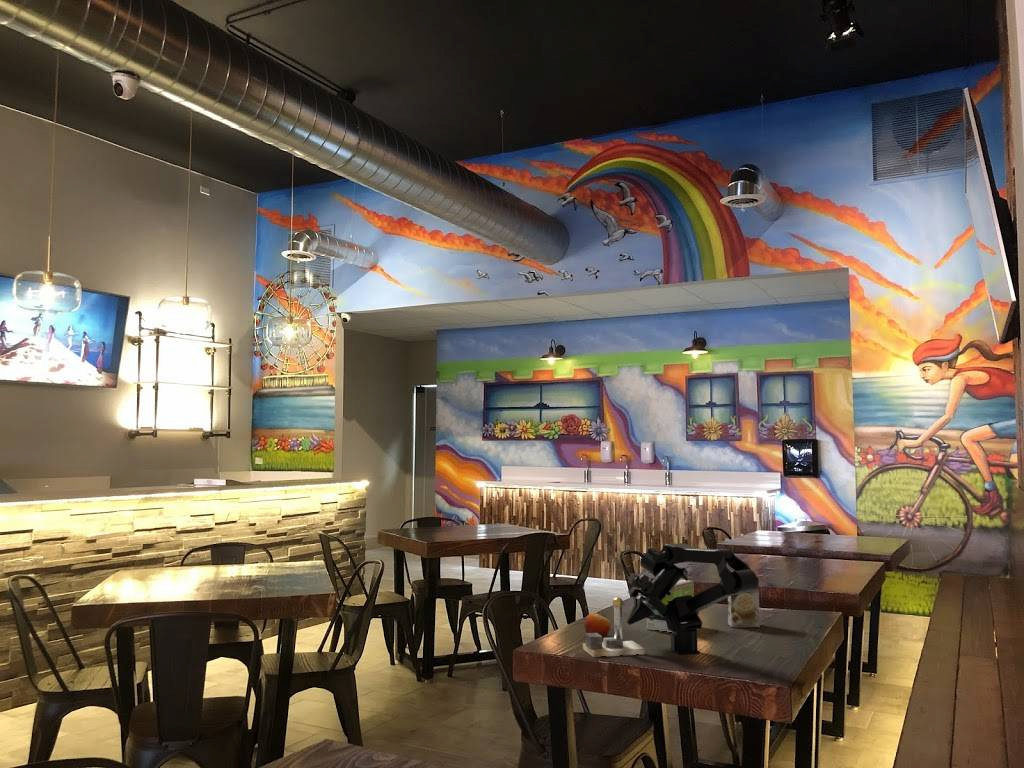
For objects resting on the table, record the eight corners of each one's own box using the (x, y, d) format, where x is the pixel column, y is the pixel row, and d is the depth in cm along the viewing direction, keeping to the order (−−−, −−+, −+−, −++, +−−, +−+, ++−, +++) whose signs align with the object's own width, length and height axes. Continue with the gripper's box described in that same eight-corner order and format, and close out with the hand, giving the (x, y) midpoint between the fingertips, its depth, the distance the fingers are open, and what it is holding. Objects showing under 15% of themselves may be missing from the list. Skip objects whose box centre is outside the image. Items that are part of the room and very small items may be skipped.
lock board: (632, 645, 238) (632, 628, 239) (644, 654, 228) (644, 636, 229) (582, 648, 235) (582, 631, 235) (593, 657, 225) (593, 639, 226)
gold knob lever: (621, 643, 234) (620, 596, 235) (625, 646, 231) (624, 598, 232) (602, 645, 233) (601, 597, 234) (606, 647, 230) (605, 598, 231)
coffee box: (731, 627, 262) (729, 576, 264) (727, 623, 269) (726, 573, 270) (760, 628, 262) (758, 577, 263) (756, 623, 268) (754, 574, 269)
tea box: (674, 633, 254) (673, 585, 255) (645, 629, 260) (644, 582, 261) (695, 625, 266) (694, 579, 267) (667, 621, 272) (666, 576, 273)
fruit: (574, 630, 252) (586, 607, 254) (594, 642, 254) (606, 619, 256) (585, 636, 245) (598, 611, 247) (606, 648, 247) (618, 623, 249)
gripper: (633, 559, 245) (599, 598, 242) (655, 567, 227) (618, 609, 224) (659, 585, 246) (625, 624, 243) (683, 595, 228) (646, 637, 225)
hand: (628, 623), depth 234 cm, fingers closed
